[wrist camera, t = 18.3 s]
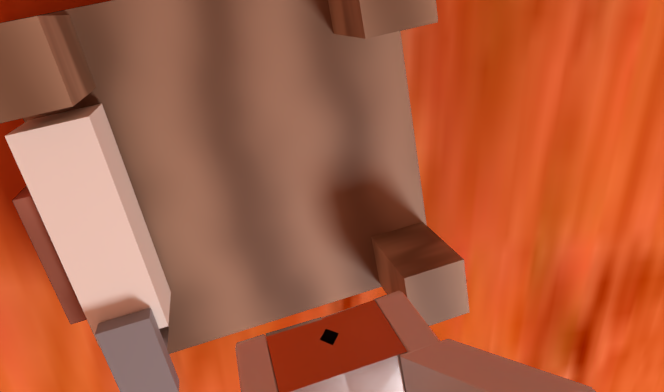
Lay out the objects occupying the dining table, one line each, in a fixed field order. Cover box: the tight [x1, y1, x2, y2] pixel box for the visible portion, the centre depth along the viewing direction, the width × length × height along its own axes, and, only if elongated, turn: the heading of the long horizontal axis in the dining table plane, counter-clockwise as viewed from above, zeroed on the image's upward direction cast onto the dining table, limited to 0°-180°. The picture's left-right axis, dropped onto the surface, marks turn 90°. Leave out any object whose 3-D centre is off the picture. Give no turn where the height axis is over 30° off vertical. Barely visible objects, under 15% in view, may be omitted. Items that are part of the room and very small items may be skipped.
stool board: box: [0, 0, 469, 354], centre depth 28 cm, size 21×20×8 cm
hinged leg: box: [5, 103, 179, 392], centre depth 26 cm, size 15×4×5 cm, turn 11°
